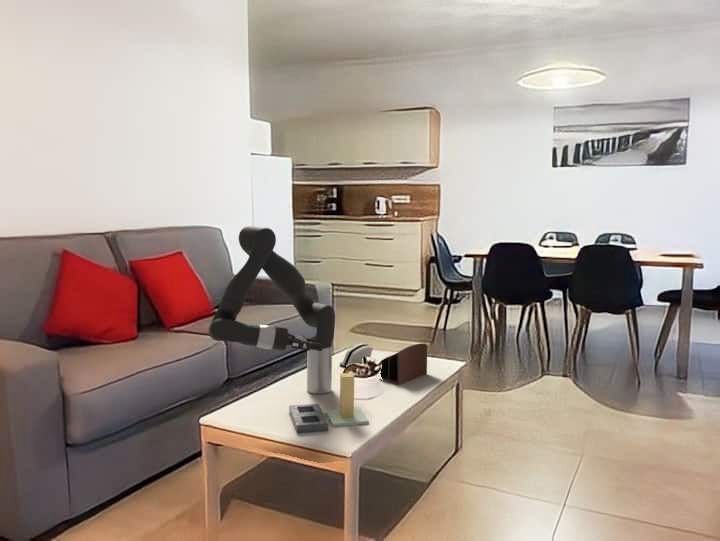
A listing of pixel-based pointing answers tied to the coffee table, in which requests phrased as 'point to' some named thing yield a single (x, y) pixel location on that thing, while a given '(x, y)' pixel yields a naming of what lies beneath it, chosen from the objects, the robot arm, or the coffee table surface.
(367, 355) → the grey curved piece
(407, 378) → the letter holder
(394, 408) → the coffee table surface
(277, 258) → the robot arm
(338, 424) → the pad
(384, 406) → the coffee table surface
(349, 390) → the plug
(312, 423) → the frame with square holes
